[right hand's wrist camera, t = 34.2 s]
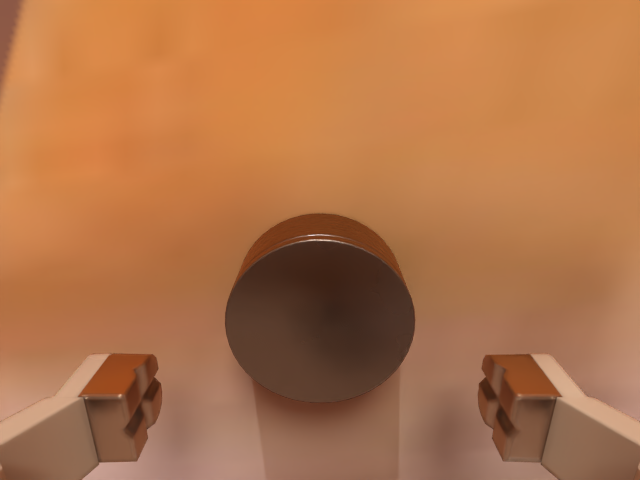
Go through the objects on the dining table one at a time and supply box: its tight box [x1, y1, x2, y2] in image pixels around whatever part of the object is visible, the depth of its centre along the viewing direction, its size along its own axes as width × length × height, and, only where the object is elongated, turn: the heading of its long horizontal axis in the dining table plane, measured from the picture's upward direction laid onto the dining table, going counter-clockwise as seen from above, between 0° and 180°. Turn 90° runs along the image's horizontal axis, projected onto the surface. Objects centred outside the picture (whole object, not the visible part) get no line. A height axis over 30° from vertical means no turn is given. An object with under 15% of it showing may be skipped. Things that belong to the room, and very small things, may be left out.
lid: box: [225, 214, 415, 403], centre depth 12 cm, size 5×5×2 cm
